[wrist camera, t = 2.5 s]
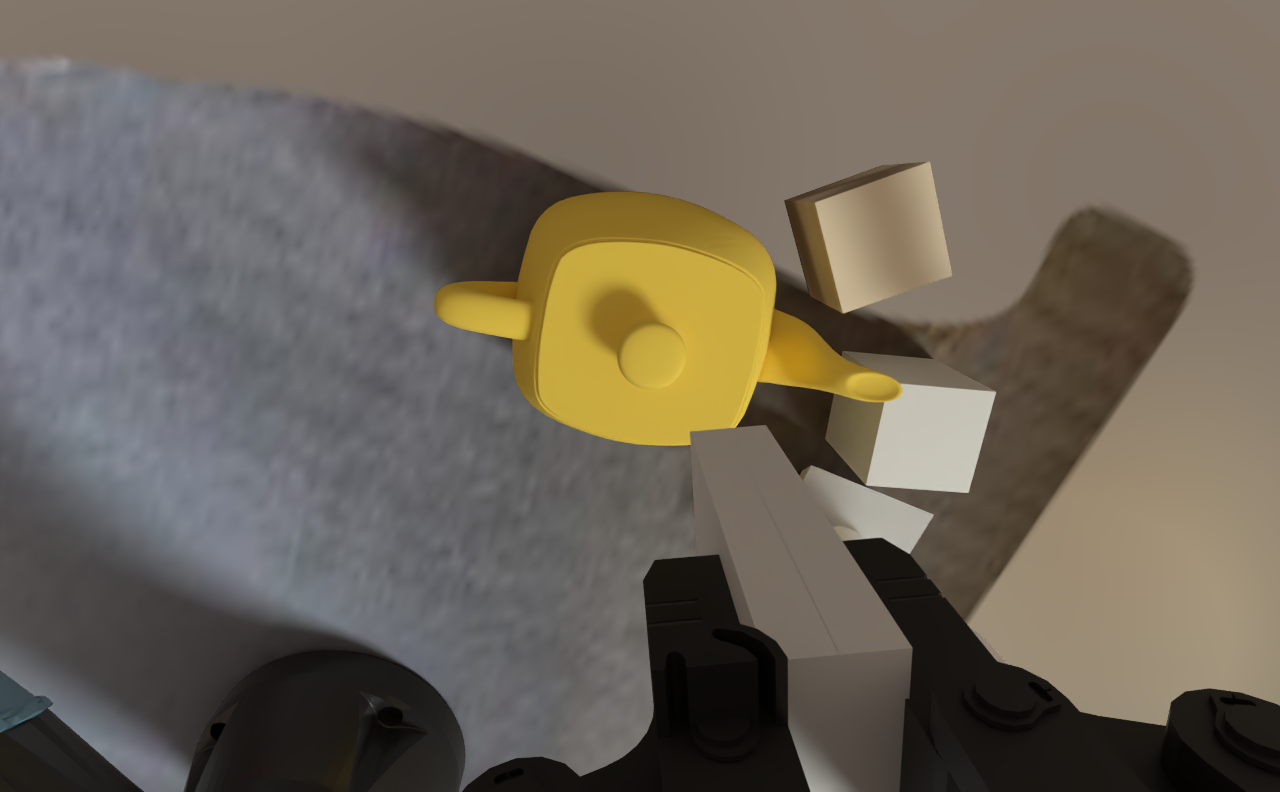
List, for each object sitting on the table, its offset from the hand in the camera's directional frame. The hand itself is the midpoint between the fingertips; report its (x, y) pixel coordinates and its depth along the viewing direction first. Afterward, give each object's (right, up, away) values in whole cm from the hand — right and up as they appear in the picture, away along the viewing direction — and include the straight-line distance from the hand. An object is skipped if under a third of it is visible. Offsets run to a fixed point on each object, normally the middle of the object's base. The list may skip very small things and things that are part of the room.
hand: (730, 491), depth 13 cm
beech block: (+8, +10, +20) cm, 24 cm away
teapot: (-1, +6, +21) cm, 22 cm away
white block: (+11, +2, +23) cm, 25 cm away
